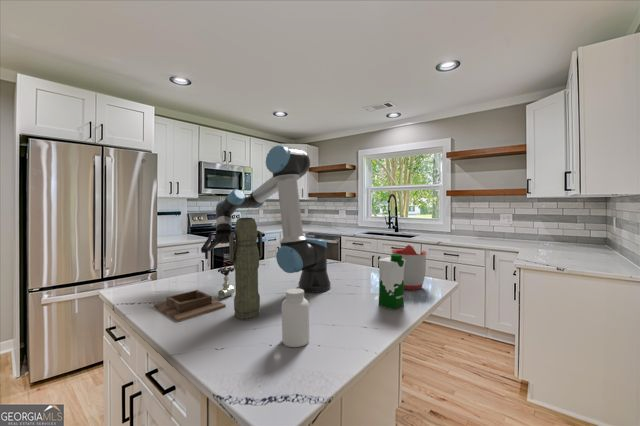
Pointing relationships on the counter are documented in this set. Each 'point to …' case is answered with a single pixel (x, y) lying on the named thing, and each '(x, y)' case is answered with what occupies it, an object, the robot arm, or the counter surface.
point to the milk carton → (391, 281)
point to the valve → (226, 283)
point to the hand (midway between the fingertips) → (224, 263)
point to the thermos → (246, 268)
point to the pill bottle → (295, 318)
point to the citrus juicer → (412, 267)
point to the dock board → (188, 305)
